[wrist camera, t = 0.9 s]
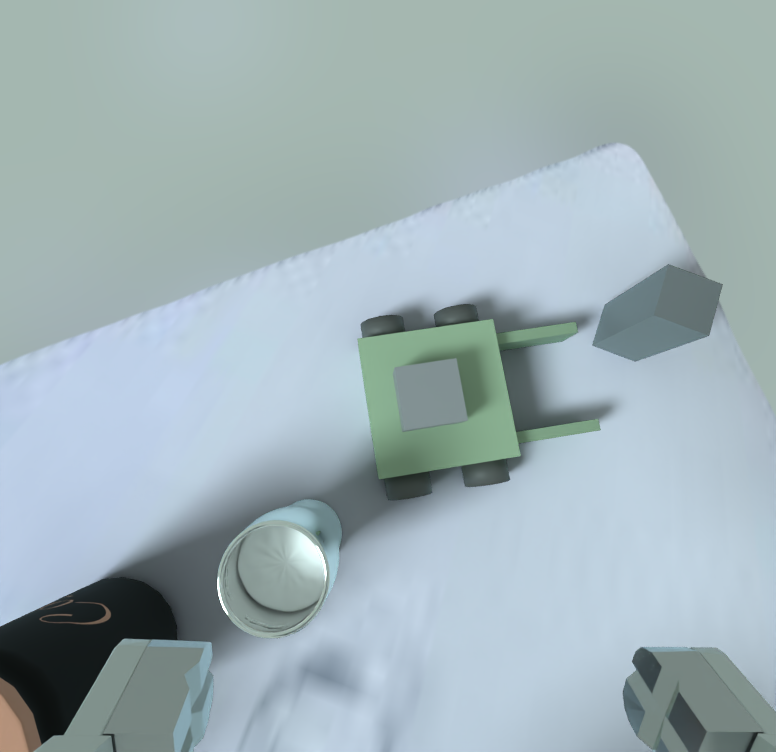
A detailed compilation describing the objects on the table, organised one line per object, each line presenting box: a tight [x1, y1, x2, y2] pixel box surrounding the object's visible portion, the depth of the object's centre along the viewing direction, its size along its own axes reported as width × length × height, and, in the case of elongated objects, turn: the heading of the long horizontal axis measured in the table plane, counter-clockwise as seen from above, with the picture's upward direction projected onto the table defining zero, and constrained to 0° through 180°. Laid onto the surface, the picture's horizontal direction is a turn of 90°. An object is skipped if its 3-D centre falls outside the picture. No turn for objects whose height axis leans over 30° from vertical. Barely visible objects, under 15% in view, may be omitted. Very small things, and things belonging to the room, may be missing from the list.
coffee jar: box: [0, 577, 177, 752], centre depth 30 cm, size 11×11×18 cm
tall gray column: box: [593, 264, 722, 361], centre depth 41 cm, size 4×4×10 cm
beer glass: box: [217, 499, 342, 639], centre depth 34 cm, size 7×7×15 cm
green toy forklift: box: [358, 304, 601, 500], centre depth 40 cm, size 16×20×8 cm
